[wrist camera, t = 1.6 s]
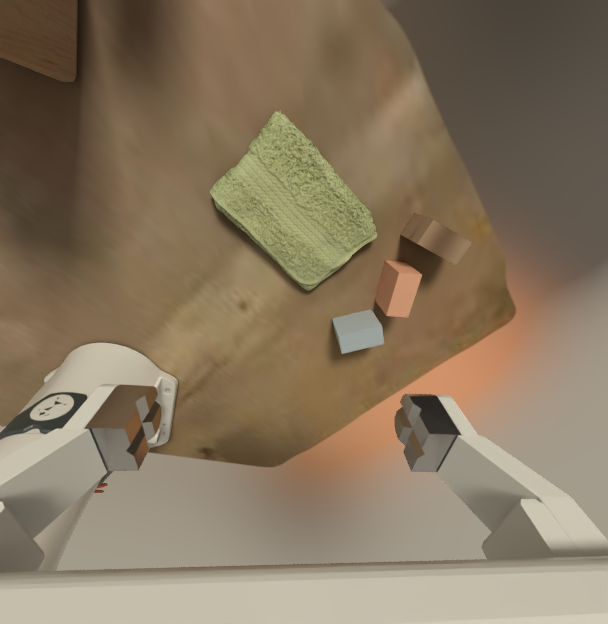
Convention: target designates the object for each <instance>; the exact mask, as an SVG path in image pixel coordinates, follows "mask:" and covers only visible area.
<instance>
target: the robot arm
mask: <svg viewBox="0 0 608 624" xmlns="http://www.w3.org/2000/svg"><path fill="white" fill-rule="evenodd" d="M44 382H45V384H44V385H43V387H42V388H41V389H40V390H39V391H38V392H37V393H36V395H35V396H34V397H33V398H32V399H31V400H30V401H29V403H28V404H27V405H26V406H25V407H24V408H23V410H22V411H21V412H20V413H19V415H17V416H16V417H15V418H14V419H13V420H12V421H11V422H10V423H9V424H8V425H7V426H5V427H4V428H3V429H2V430H0V624H608V541H607V540H606V538H605V537H604V536H603V535H602V533H601V532H600V531H599V530H598V529H597V527H596V526H595V525H594V524H593V523H592V522H591V520H590V519H589V518H588V517H587V516H586V514H585V513H584V512H583V511H582V510H581V508H580V507H579V506H578V505H577V504H576V502H575V501H574V500H573V499H572V498H571V497H570V496H568V495H567V494H566V493H564V492H562V491H561V490H560V489H558V488H557V487H556V486H554V485H552V484H551V483H550V482H548V481H547V480H545V479H544V478H543V477H541V476H540V475H538V474H537V473H535V472H534V471H533V470H531V469H530V468H528V467H527V466H525V465H524V464H522V463H521V462H520V461H518V460H517V459H515V458H514V457H512V456H511V455H510V454H508V453H507V452H505V451H504V450H502V449H501V448H500V447H498V446H497V445H495V444H494V443H492V442H491V441H489V440H488V439H487V438H485V437H484V436H478V434H477V433H476V431H475V430H474V429H473V427H472V426H471V424H470V423H469V421H468V420H467V419H466V417H465V416H464V414H463V413H462V411H461V410H460V409H459V407H458V406H457V404H456V403H455V401H454V400H453V399H452V397H450V396H449V395H431V394H429V395H428V394H405V395H404V396H403V397H402V399H401V401H400V402H401V404H402V408H400V409H399V410H398V411H397V412H396V416H395V430H396V434H397V437H398V439H399V440H400V441H401V442H402V443H403V444H404V445H405V449H404V454H405V457H406V459H407V461H408V464H409V467H410V469H411V471H412V472H437V474H438V476H439V477H440V478H441V479H442V480H443V481H444V482H445V483H446V484H447V485H448V486H449V487H450V488H451V489H452V490H453V492H454V493H455V494H456V495H457V496H458V497H459V498H460V499H461V500H462V501H463V502H464V503H465V504H466V505H467V506H468V507H469V508H470V509H471V510H472V512H473V513H474V514H475V515H476V516H477V517H478V518H479V519H480V520H481V521H482V522H483V523H484V524H485V525H486V526H487V527H488V529H489V530H490V531H491V532H492V533H491V534H490V535H489V536H488V537H487V539H486V540H485V541H484V542H483V545H482V549H483V552H484V554H485V556H486V558H487V559H483V560H482V559H480V560H443V561H406V562H372V563H371V562H368V563H331V564H296V565H295V564H293V565H257V566H256V565H254V566H216V567H181V568H180V567H179V568H144V569H105V570H71V571H70V570H68V571H56V569H57V566H58V564H59V561H60V559H61V556H62V554H63V552H64V550H65V547H66V545H67V543H68V541H69V539H70V537H71V535H72V533H73V531H74V529H75V527H76V525H77V523H78V521H79V519H80V517H81V515H82V513H83V511H84V510H85V508H86V506H87V504H88V502H89V500H90V498H91V497H92V495H93V493H103V492H104V491H103V490H96V488H101V487H105V486H107V484H106V483H103V482H104V480H105V479H106V478H107V477H108V476H109V475H110V474H111V473H112V472H113V471H126V470H139V468H140V466H141V464H142V462H143V460H144V458H145V456H146V455H147V453H148V451H149V449H150V448H151V447H156V446H159V445H162V444H164V443H166V442H167V441H168V440H169V438H170V434H171V428H172V421H173V415H174V408H175V402H176V395H177V388H178V381H177V379H176V378H175V377H173V376H171V375H169V374H167V373H165V372H163V371H161V370H160V369H159V368H157V367H156V366H155V365H154V364H153V363H152V362H151V361H150V360H149V359H148V358H146V357H145V356H143V355H142V354H140V353H138V352H137V351H135V350H132V349H130V348H127V347H124V346H121V345H117V344H111V343H92V344H87V345H84V346H81V347H79V348H77V349H75V350H73V351H72V352H71V353H70V354H69V355H68V356H67V357H66V359H65V360H64V362H63V363H62V365H61V366H60V367H59V368H57V369H55V370H53V371H51V372H50V373H49V374H48V375H47V376H46V377H45V379H44Z"/></svg>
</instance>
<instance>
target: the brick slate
mask: <svg viewBox="0 0 608 624" xmlns="http://www.w3.org/2000/svg"><path fill="white" fill-rule="evenodd" d="M332 321H333V325H334V330H335V335H336V338H337V341H338V344H339V347H340V350H341V353H342V354H344V353H348V352H352V351H356V350H360V349H365V348H369V347H373V346H377V345H381V344H384V339H383V330H382V325H381V324H380V322H379V321H378V319H377V317H376V316H375V314H374V313H373V311H372V310H371V309H370V310H366V311H362V312H358V313H353V314H349V315H345V316H341V317H337V318H333V319H332Z"/></svg>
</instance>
